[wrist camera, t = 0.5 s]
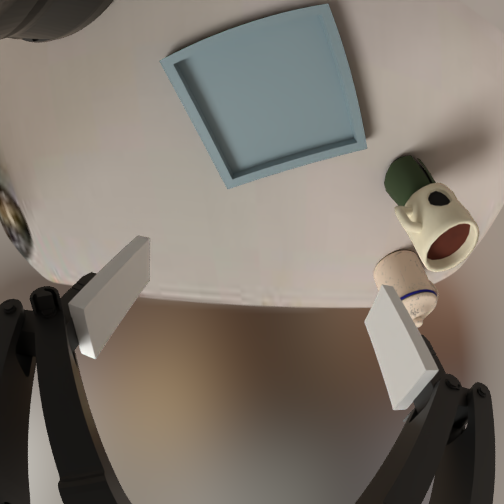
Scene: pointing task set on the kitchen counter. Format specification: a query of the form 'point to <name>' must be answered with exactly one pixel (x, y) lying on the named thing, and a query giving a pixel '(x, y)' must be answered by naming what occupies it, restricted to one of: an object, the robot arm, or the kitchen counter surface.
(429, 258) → the character mug
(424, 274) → the teacup with lid
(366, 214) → the kitchen counter surface
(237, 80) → the tray
